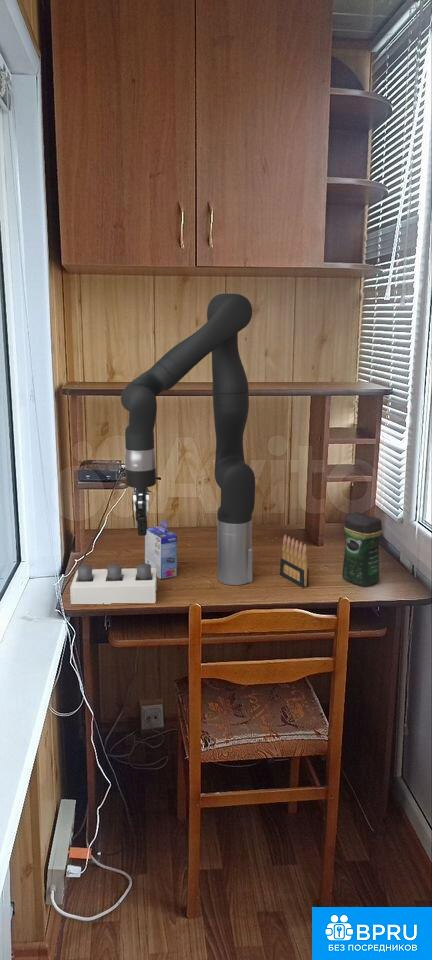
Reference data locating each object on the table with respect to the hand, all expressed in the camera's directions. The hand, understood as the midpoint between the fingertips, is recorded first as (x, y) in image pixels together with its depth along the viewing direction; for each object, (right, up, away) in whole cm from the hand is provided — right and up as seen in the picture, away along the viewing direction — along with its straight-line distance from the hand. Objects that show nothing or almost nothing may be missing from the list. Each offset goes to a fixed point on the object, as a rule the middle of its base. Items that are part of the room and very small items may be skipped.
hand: (142, 531), depth 178 cm
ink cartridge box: (+3, -13, +19) cm, 23 cm away
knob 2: (0, -13, +3) cm, 13 cm away
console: (-7, -17, +4) cm, 19 cm away
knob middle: (-7, -13, +3) cm, 15 cm away
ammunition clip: (+40, -14, +13) cm, 44 cm away
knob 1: (-15, -13, +3) cm, 20 cm away
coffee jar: (+58, -14, +13) cm, 61 cm away
